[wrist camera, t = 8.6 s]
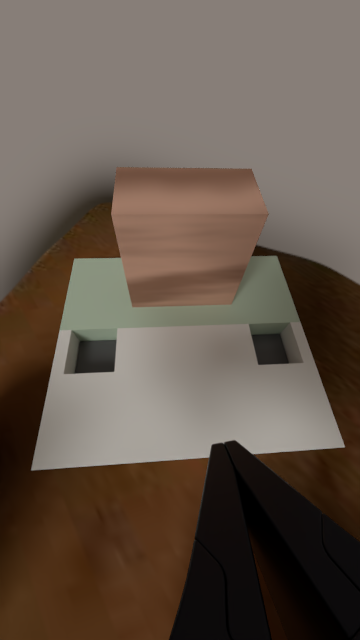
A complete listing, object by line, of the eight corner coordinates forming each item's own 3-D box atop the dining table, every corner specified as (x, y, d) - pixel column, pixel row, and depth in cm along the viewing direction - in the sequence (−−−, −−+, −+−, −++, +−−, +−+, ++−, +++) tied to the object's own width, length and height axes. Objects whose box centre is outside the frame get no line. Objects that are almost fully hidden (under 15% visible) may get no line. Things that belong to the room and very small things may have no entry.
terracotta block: (231, 304, 24) (268, 214, 15) (132, 307, 23) (111, 214, 14) (223, 265, 26) (251, 168, 17) (133, 267, 25) (116, 167, 17)
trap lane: (325, 448, 20) (344, 447, 18) (47, 469, 18) (31, 470, 16) (268, 271, 29) (276, 255, 27) (81, 274, 28) (74, 258, 26)
